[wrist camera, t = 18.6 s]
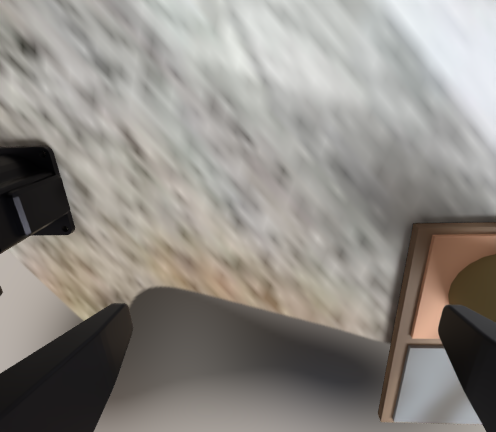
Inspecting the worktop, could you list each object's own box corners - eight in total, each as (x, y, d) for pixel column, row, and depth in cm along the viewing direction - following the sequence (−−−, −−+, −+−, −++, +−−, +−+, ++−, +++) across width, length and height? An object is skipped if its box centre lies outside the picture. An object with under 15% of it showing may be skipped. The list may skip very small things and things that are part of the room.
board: (377, 413, 29) (381, 425, 28) (413, 223, 21) (420, 230, 20) (509, 416, 28) (518, 429, 27) (595, 220, 20) (612, 227, 19)
